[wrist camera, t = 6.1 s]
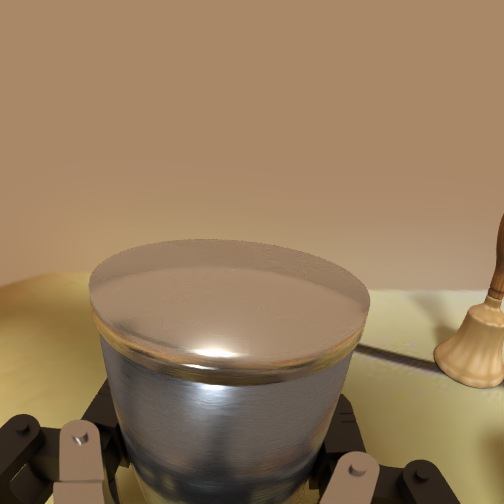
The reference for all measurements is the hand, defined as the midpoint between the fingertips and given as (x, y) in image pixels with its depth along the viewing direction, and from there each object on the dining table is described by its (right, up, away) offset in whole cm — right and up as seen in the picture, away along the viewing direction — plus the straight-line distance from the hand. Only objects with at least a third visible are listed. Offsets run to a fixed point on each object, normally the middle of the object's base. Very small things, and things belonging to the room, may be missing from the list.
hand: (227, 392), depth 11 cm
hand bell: (+22, -6, +12) cm, 25 cm away
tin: (-1, -7, -1) cm, 7 cm away
